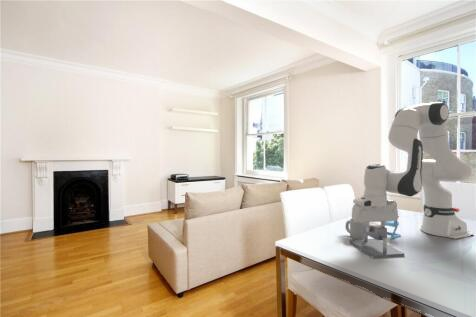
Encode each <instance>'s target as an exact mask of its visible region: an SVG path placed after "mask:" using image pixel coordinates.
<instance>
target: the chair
mask: <svg viewBox="0 0 476 317" xmlns="http://www.w3.org/2000/svg"><path fill="white" fill-rule="evenodd" d="M399 217H400V216H399V215H398V218H399ZM399 225H400V222H398V220H397V221H387V223H386V225H385V226H388V227H392V228H394V229H393V232H391V231H387V235H390V240H394V239H397V238H401V233H400V234H399V233H396V231H397V229H398V226H399Z"/></svg>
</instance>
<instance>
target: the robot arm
mask: <svg viewBox="0 0 476 317" xmlns="http://www.w3.org/2000/svg"><path fill="white" fill-rule="evenodd" d="M449 114H450V110H449V107H448V105H447V104H446V103H445V102H443V101H441V102H440V101H435V102H429V103H420V104H415V105H412V106H411V105H410V106H408V107H403V108H400V109H399V110H397V111H396V112H395V115H394V120H393V121H392V123H391V126H390V129H389V133H388V141H389V143H390V145H391V146H393V147H394V148H396V149H398V150H401V151H403V152H406V153H407V162H406V163H407V165H406V170H405V171H393V170H389V169H388V168H386V165H385V164H381V163H379V164H377V163H376V164H369V165H367V166H366V167H365V171H364V176H363V177H364V178H363V181H364V182H363V183H364V184H363V185H364V191H363V195H361V196H359V197H356V198H354V199H353V201H352V202H353V206H352V210H351V219H353V220H354V221H355V222H358V223H359V222H364V225H365V226H366V231H368V232H371V231H372V228H371V227H369V225H368V224H369V223H378V222H380V224H379V225H380V226H383V227H385V228H386V226H387V225H386V223H387V221H391V222H394V221H397V222H398V219H399V217H398V216H399V211H398V203H397V202H396V201H395V200H393V199H388V193H392V194H399V195H401V196H402V195H403V196H406V197H410V198H411V197H413V196H416V195H417V194H419V193H420V192H421V191H422V188H423V193H424V204H423V212H424V213H423V217H422V222H421V225H420V231H421V232H423V233H426V234H429V235H433V236H437V237H445V238H449V239H460V238H461V239H462V238H466V237H472V236H471V235H473V236H474V234H475V233H473V232H472V231H470V230H468V226H467V223H466V222H465V220H463V219H462V218H460V217H459V216H458V215H456V213H459V212H460V208H457V207H453V194H452V192H451V190H449V189H448V188H446V187H444V186H443V185H442V184H441V183H440V181H442V182H456V183H457V182H465V181H467V180H468V179H469V178H470V177H471V175H472V167H471V166H470V165H469V163H468V162H466V161H464V160H462V159H460V157H458V156H457V155H456V154H455V153H454V152H453V150H452V148H451V146H450V142H449V138H448V132H447V128H446V123H445V122H446V121H447V120H448V118H449ZM418 136H419V138H418ZM423 153H424V154H426V155H428V156H430V157H432V158H433V159H423Z"/></svg>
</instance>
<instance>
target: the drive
mask: <svg viewBox="0 0 476 317" xmlns="http://www.w3.org/2000/svg"><path fill="white" fill-rule="evenodd" d="M368 225H369V227H371V228H372V231H371V232H368V231H366V226H365V225H364V234H366V235H368V237H371V239H376V240H380V241H383V238H387V239H388V234H387V232H388V228H387V227H386V226H385V227H383V226H380V225H381V224H378V223H376V222H369V224H368Z"/></svg>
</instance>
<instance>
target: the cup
mask: <svg viewBox="0 0 476 317" xmlns="http://www.w3.org/2000/svg"><path fill="white" fill-rule="evenodd" d="M345 230H346V232H347V233H348V234H349V237H350V238H351V239H352V240H357V239H364V222H359V223H358V222H355V221H354V220H353V219H352V218H350V219H349V220H346V222H345Z"/></svg>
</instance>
